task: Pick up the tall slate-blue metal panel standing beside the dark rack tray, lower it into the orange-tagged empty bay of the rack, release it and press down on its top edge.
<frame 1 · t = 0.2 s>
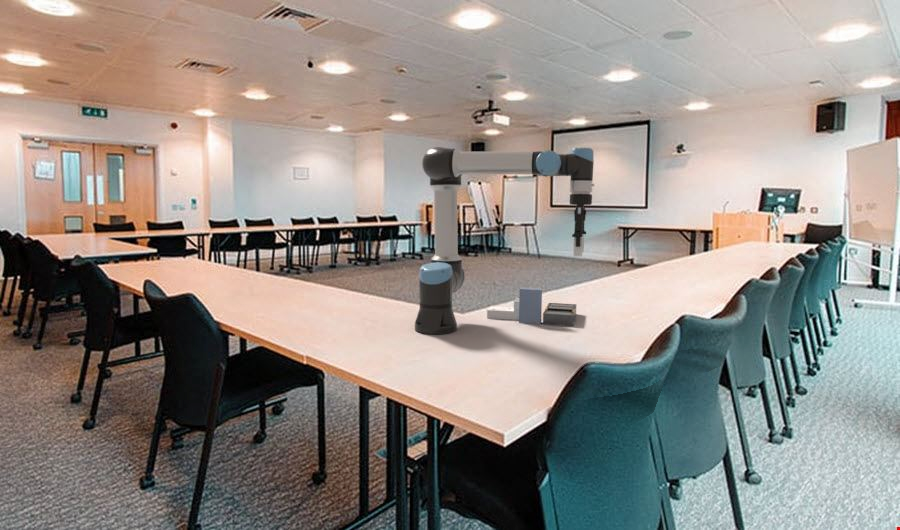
hand: (578, 254, 189), 27 cm above the table, fingers open, 13 cm apart
bracket: (504, 318, 213), on the table
rack: (560, 318, 210), on the table
panel: (530, 322, 204), on the table
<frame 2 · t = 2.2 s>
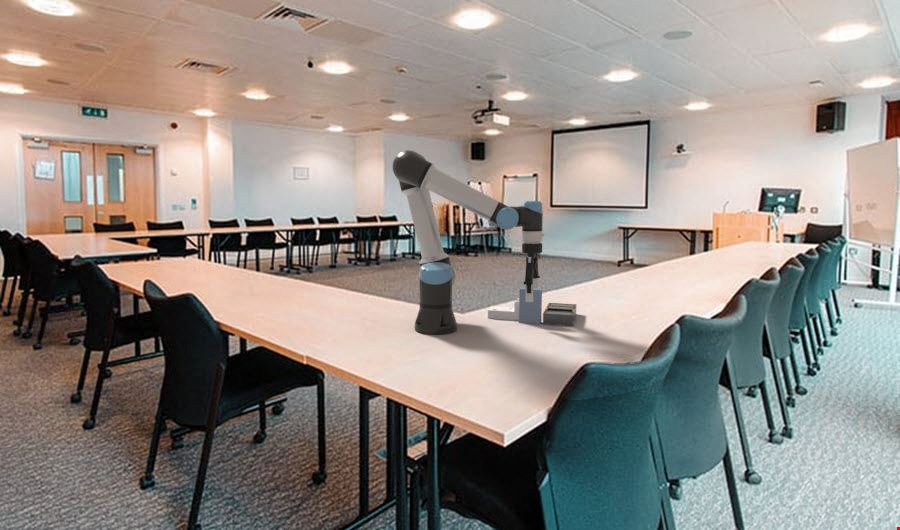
hand: (531, 298, 203), 9 cm above the table, fingers open, 13 cm apart
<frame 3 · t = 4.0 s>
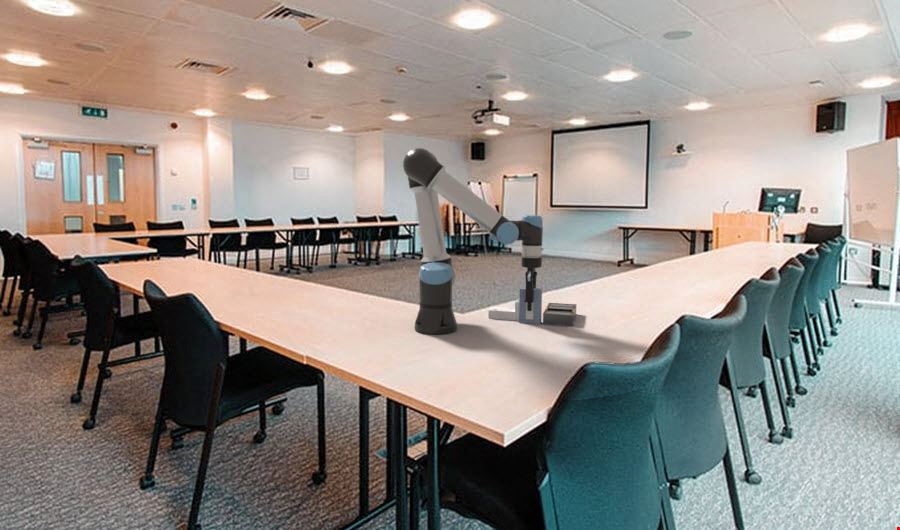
hand: (530, 317, 204), 2 cm above the table, fingers closed on panel, 3 cm apart
panel: (530, 322, 204), on the table, touching gripper
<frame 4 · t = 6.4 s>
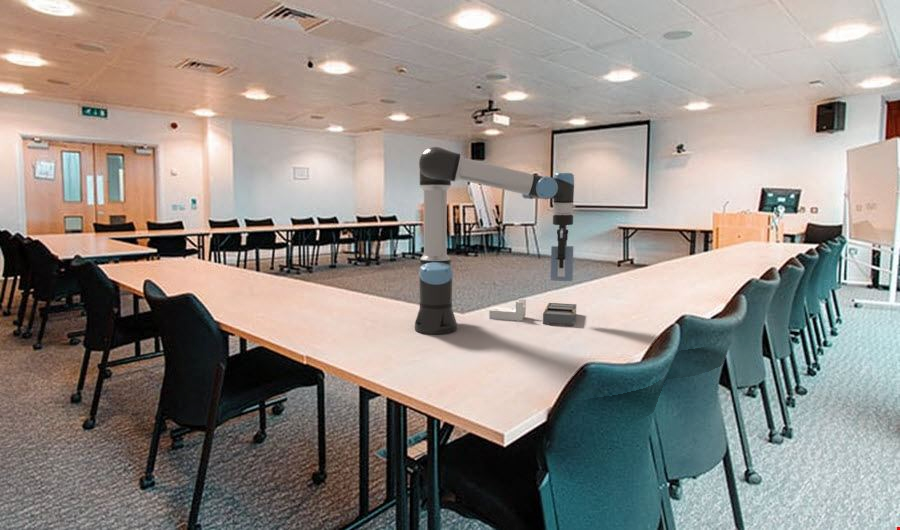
hand: (561, 275, 205), 18 cm above the table, fingers closed on panel, 3 cm apart
panel: (561, 280, 206), point 16 cm above the table, touching gripper
when the fingers open (5 cm above the table, at t = 8.6 s): panel drops 2 cm, resting on rack.
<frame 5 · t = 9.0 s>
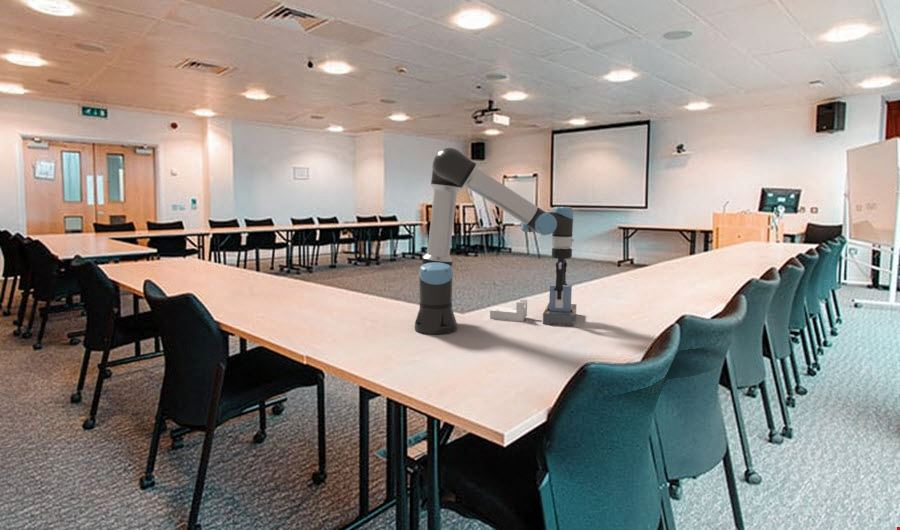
hand: (560, 305, 207), 6 cm above the table, fingers open, 10 cm apart
panel: (559, 318, 208), point 1 cm above the table, touching rack
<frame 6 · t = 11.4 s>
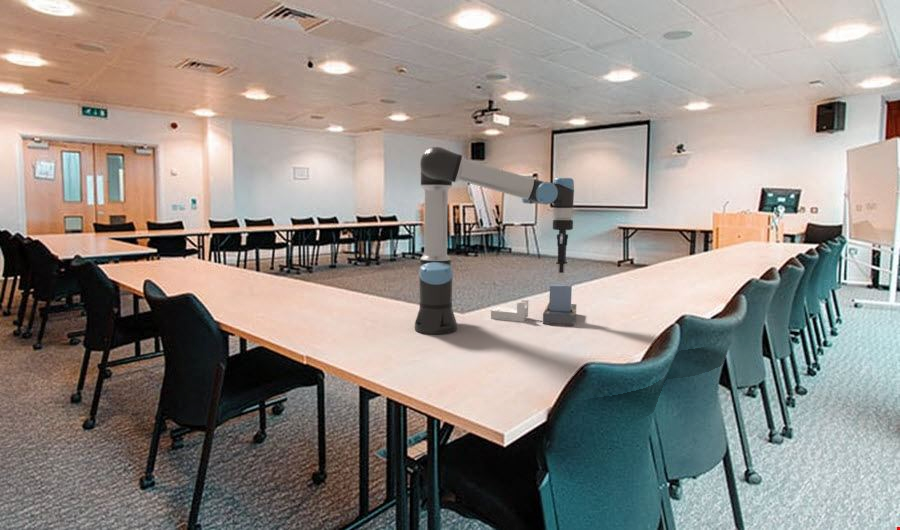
hand: (561, 280, 206), 15 cm above the table, fingers closed
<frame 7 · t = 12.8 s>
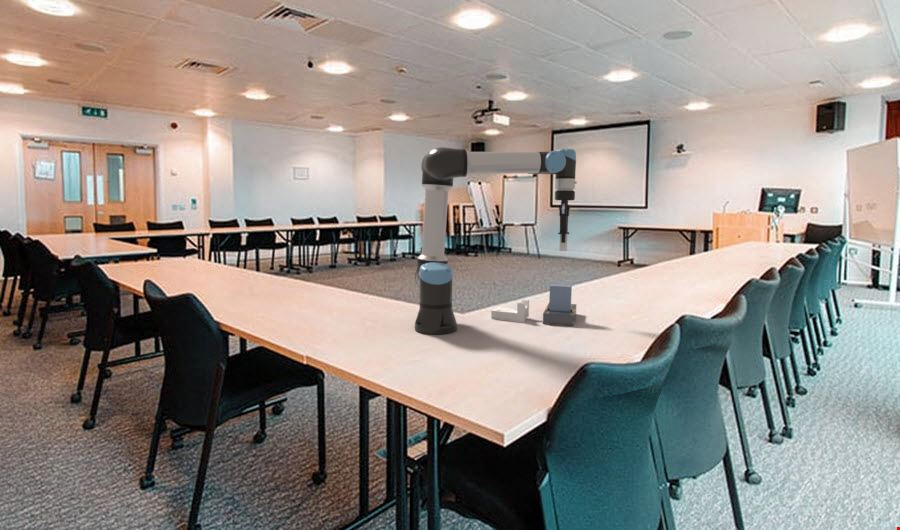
hand: (563, 250, 210), 26 cm above the table, fingers closed
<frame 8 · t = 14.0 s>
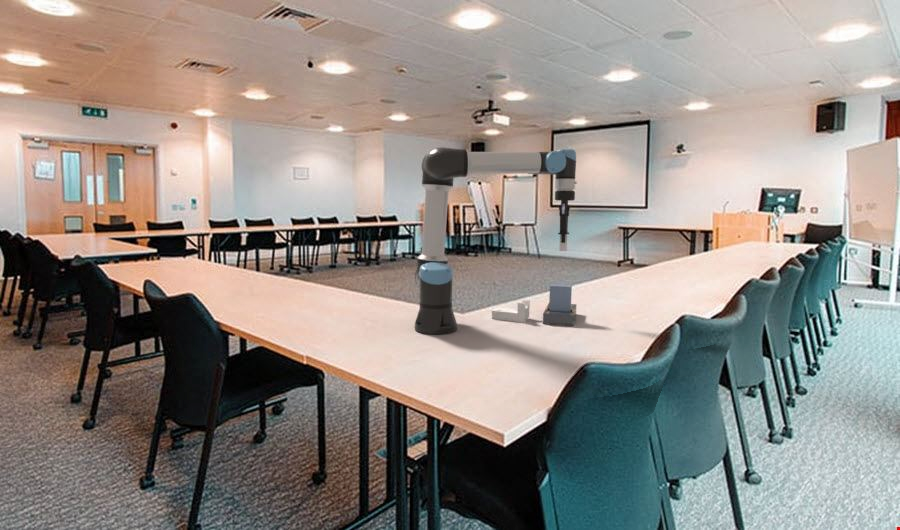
hand: (563, 250, 210), 26 cm above the table, fingers closed
at the end: panel 0.1 cm from the target spot on the rack, point 0.6 cm above the rack's base; panel tilted 0°; the gripper is holding nothing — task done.
